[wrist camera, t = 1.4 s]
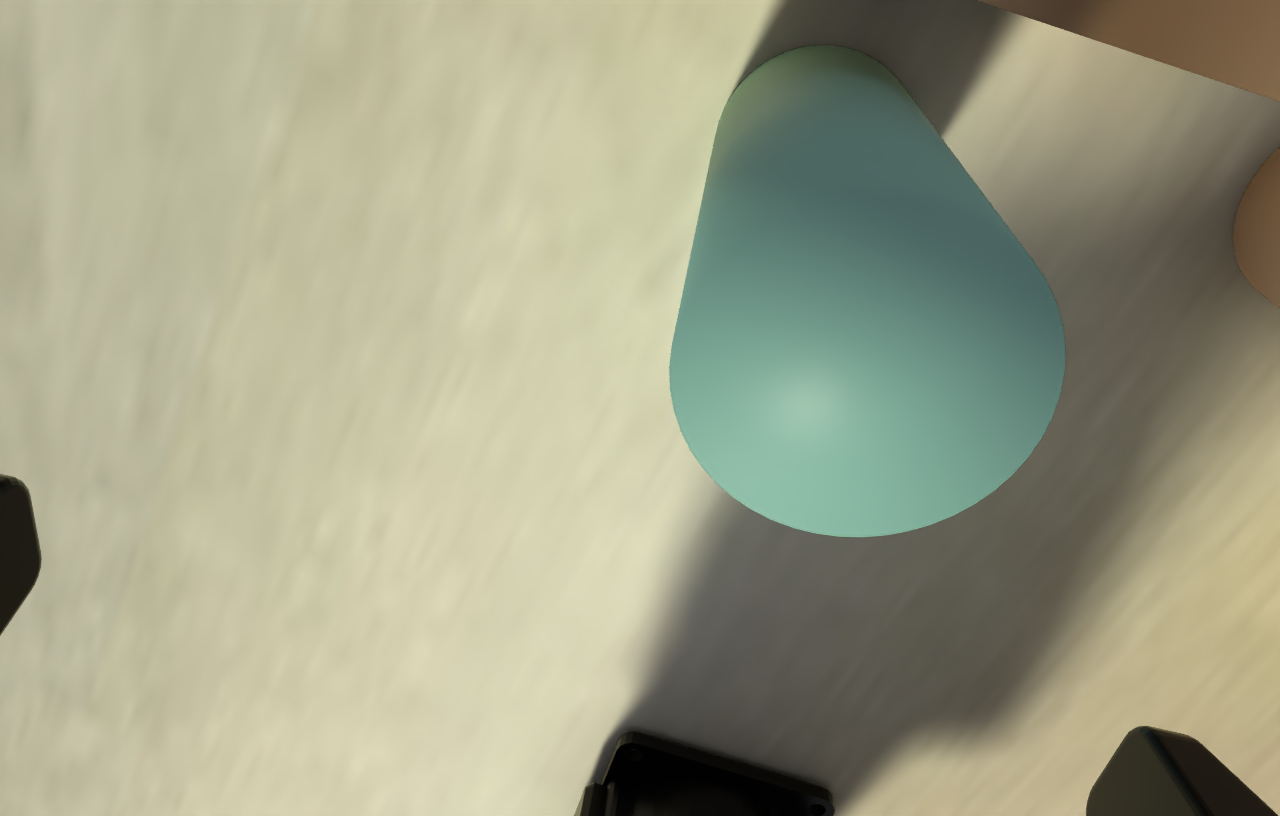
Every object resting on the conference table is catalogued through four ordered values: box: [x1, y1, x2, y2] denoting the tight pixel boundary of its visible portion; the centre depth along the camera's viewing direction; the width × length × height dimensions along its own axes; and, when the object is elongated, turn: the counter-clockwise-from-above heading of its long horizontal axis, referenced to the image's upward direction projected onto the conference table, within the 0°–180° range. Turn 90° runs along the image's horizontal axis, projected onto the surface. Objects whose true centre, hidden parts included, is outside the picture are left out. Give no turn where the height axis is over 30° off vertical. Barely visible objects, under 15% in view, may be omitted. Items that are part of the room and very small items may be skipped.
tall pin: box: [669, 45, 1066, 537], centre depth 14 cm, size 4×4×10 cm
